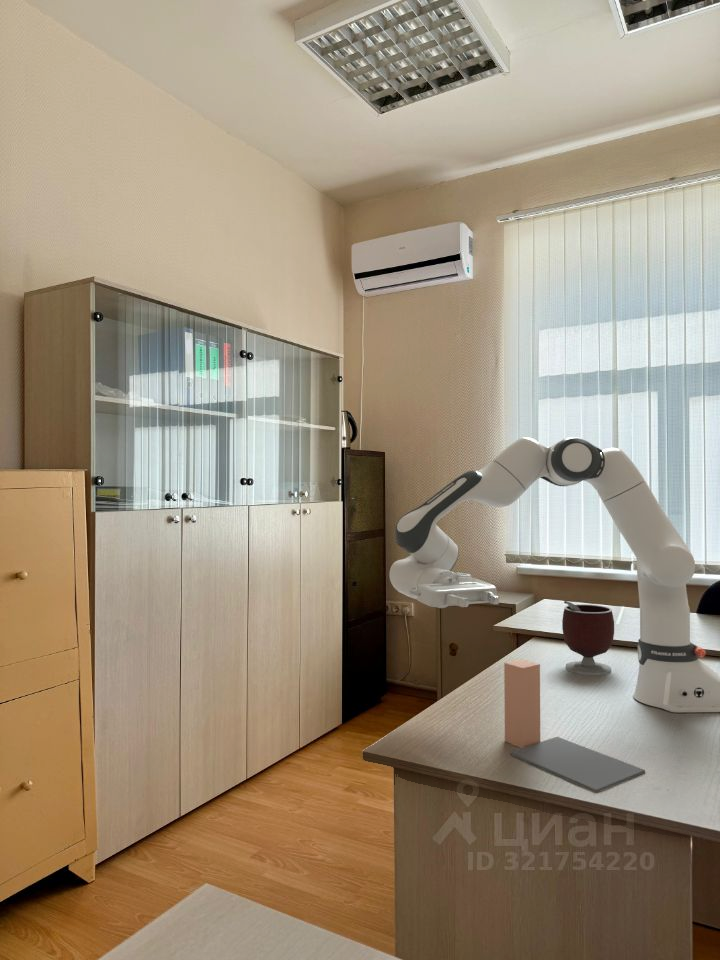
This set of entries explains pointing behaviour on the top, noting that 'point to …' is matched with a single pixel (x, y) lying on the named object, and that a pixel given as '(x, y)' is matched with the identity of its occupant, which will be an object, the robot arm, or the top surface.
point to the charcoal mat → (577, 763)
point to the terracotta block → (522, 702)
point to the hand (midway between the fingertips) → (482, 602)
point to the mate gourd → (588, 636)
